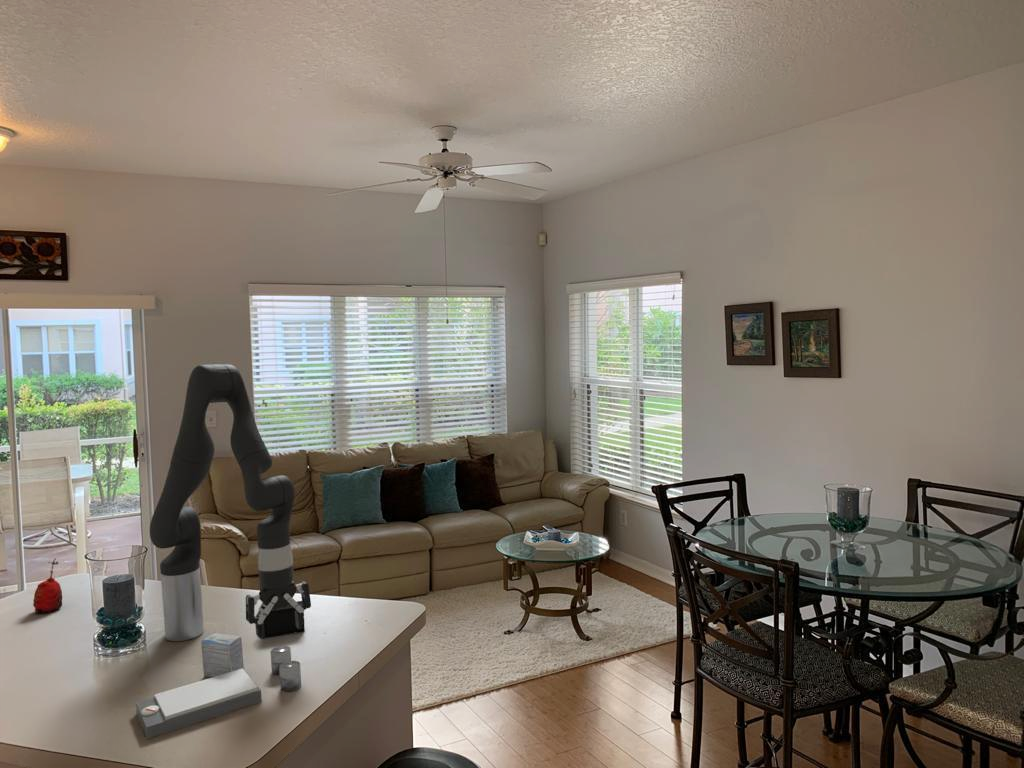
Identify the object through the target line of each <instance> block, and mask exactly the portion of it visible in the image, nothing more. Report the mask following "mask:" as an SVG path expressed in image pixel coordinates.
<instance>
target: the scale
mask: <svg viewBox="0 0 1024 768" xmlns="http://www.w3.org/2000/svg"><path fill="white" fill-rule="evenodd" d="M262 698H263V697H262V690H261V689H260V687H259V686H258V685H257V684H256V682H255V681H254V680H253V679H252V677H251V676H250V675H249V674H248V672H247V671H246V670H245V668H244V669H243V668H242V669H239V670H235V671H232V672H229V673H225V674H222V675H219V676H215V677H209V678H205V679H202V680H199V681H196V682H192V683H189V684H186V685H185V684H184V685H183V686H179V687H176V688H172V689H170V690H165V691H162V692H159V693H155V694H154V696H153V697H150V698H146V699H143V700H140V701H136V702H135V708H136V710H135V711H136V716H137V718H138V720H139V722H140V724H141V727H142V730H143V731H144V734H145V736H146V739H147V740H150V739H152V738H155V737H156V738H157V737H158V736H161V735H164V734H168V733H170V732H174V731H176V730H179V729H182V728H186V727H188V726H191V725H195V724H198V723H200V722H203V721H206V720H210V719H212V718H213V719H214V718H216V717H218V716H221V715H225V714H228V713H230V712H231V713H232V712H234V711H237V710H239V709H242V708H246V707H249V706H252V705H255V704H258V703H262V702H263V699H262Z"/></svg>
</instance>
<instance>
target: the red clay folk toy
mask: <svg viewBox="0 0 1024 768" xmlns="http://www.w3.org/2000/svg"><path fill="white" fill-rule="evenodd" d="M56 560H57V558H54V559H53V561H52V562H50V561H48V563H49V564H51V565H52V566H51V570H49V572H50V576H49V578H47V579H46V580H44V581H42V582H40V583H38V584H37V587H36V589H35V591H34V595H33V604H32V606H33V607H34V611H35V614H39V615H40V614H41V613H42V614H47V613H51V612H55V611H56V610H57V611H58V610H59V609H61V608H62V606H63V591H62V590H63V589H62V588H61V585H60V583H59V582H58V581H57V580H56V579H55V577H53V572H54V571H53V569H54V565H59V561H58V560H57V561H56ZM55 561H56V562H55Z"/></svg>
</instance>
